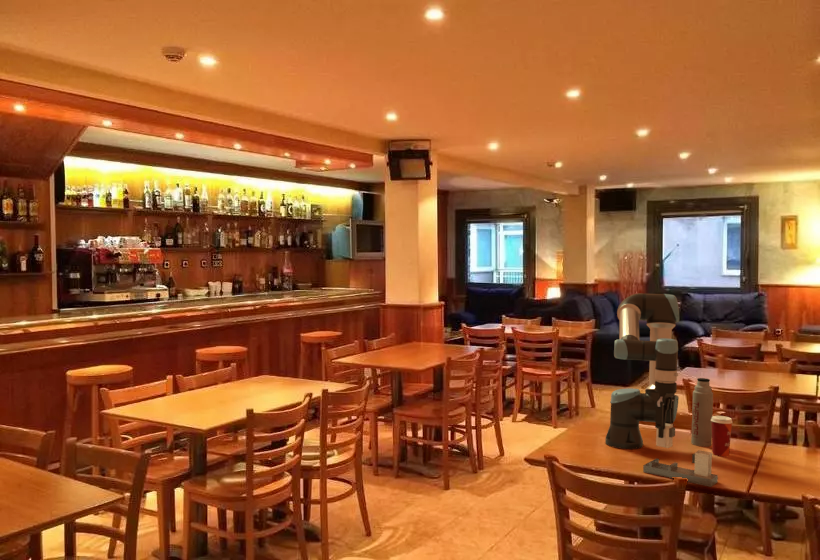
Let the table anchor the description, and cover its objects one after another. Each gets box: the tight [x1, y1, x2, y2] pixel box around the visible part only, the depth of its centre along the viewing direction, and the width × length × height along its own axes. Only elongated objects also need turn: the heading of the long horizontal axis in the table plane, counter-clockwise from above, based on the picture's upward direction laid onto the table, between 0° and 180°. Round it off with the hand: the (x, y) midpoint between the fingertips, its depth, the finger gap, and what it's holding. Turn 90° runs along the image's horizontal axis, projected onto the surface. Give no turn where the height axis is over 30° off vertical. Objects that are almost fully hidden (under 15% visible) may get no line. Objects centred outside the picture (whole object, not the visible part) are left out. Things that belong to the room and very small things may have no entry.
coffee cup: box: [711, 415, 734, 458], centre depth 281 cm, size 8×8×15 cm
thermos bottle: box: [690, 377, 714, 448], centre depth 296 cm, size 8×8×28 cm
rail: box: [642, 449, 719, 488], centre depth 251 cm, size 24×7×10 cm, turn 50°
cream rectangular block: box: [655, 423, 676, 449], centre depth 254 cm, size 6×4×8 cm
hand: (663, 444), depth 255 cm, fingers closed on cream rectangular block, 4 cm apart
